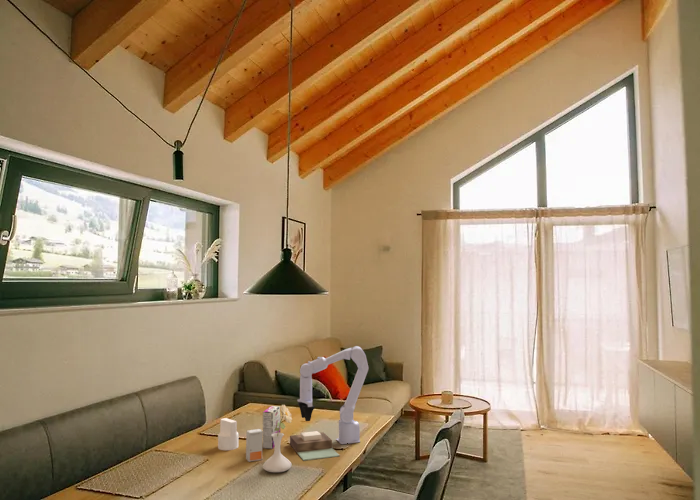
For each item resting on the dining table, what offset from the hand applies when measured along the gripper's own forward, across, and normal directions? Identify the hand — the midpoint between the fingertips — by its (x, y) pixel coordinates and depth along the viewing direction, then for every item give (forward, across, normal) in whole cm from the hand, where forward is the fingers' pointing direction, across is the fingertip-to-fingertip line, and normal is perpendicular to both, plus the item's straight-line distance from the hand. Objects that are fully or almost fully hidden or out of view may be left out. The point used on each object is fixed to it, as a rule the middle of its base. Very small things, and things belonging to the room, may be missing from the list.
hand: (305, 419), depth 248 cm
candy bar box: (+11, -1, -16) cm, 19 cm away
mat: (+10, +20, 0) cm, 22 cm away
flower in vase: (+11, +31, -20) cm, 38 cm away
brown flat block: (+10, +8, 0) cm, 13 cm away
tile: (+6, +8, 0) cm, 11 cm away
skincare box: (+11, +16, -27) cm, 33 cm away
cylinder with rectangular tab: (+11, -5, -35) cm, 37 cm away
